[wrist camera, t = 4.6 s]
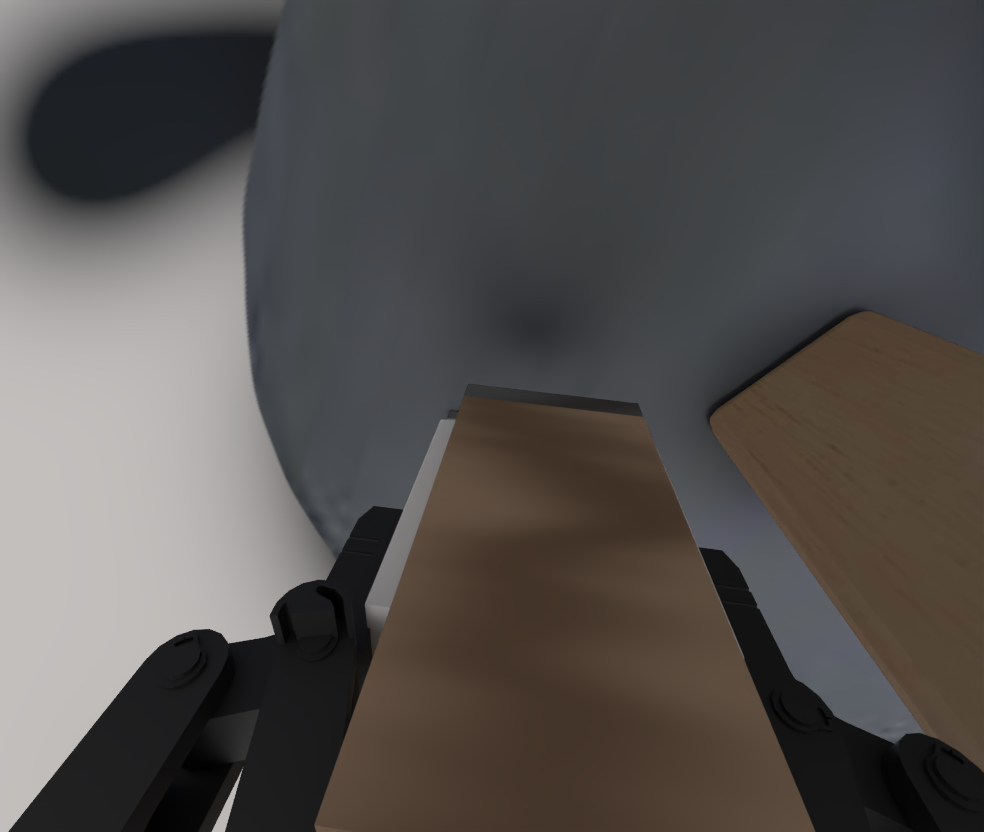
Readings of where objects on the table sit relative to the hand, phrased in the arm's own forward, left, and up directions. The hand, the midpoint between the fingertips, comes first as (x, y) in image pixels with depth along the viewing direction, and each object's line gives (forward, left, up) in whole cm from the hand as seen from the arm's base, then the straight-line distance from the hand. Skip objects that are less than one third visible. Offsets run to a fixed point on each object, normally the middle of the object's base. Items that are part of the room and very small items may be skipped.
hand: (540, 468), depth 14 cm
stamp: (0, 0, 0) cm, 0 cm away
